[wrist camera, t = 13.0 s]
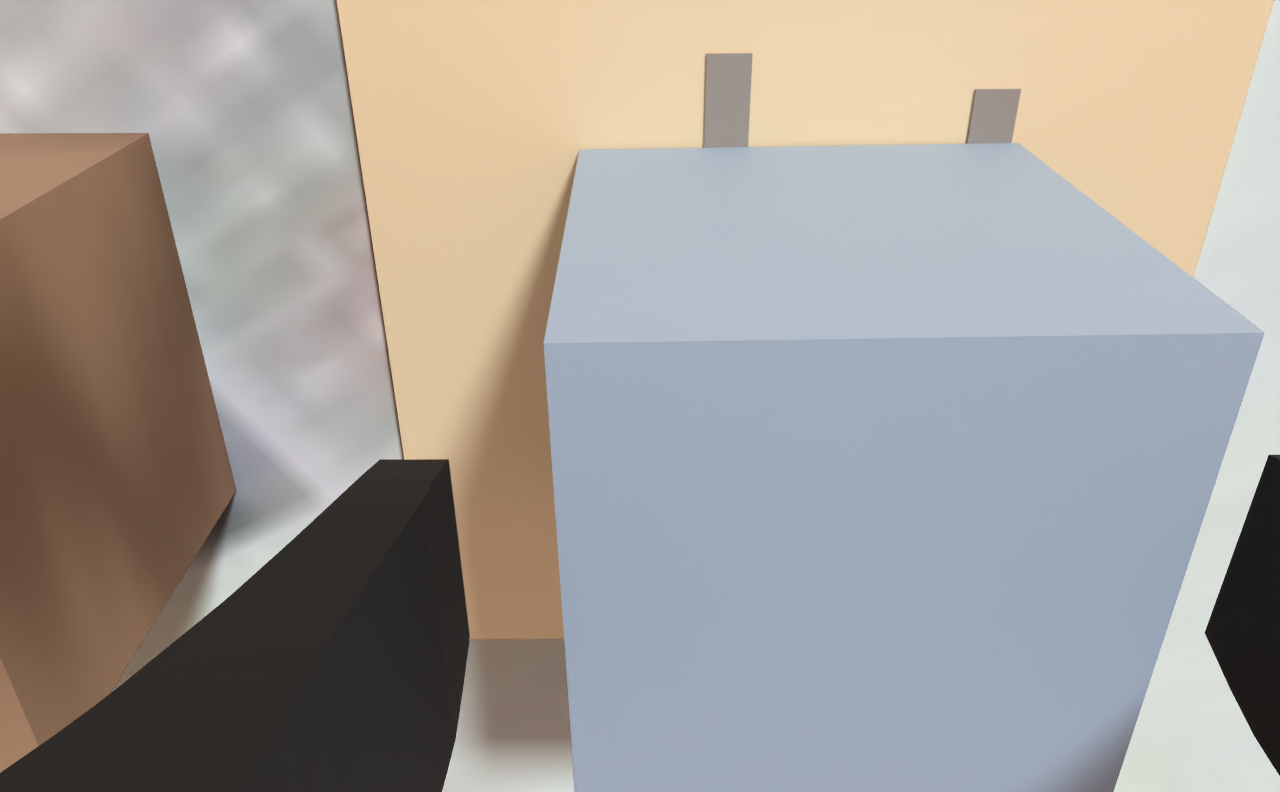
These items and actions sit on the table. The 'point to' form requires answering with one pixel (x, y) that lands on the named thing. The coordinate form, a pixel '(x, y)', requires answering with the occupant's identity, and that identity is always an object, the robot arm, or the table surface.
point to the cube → (870, 468)
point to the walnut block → (92, 424)
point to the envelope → (711, 118)
